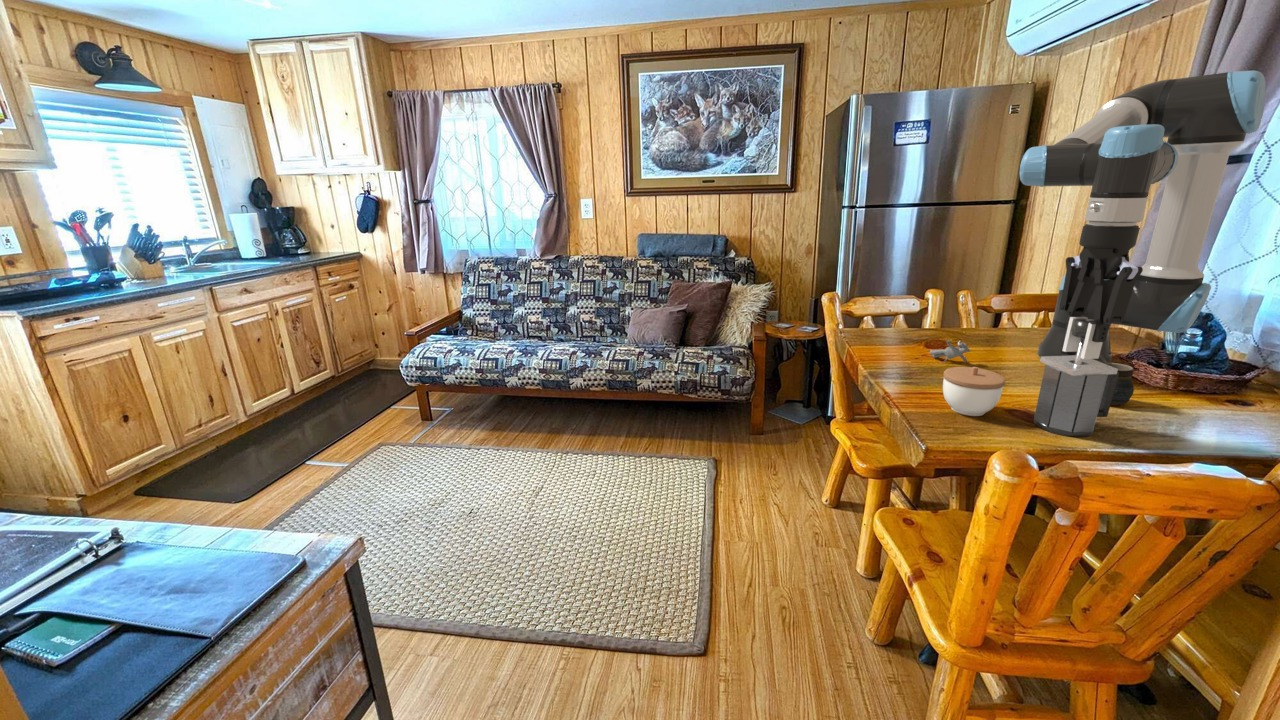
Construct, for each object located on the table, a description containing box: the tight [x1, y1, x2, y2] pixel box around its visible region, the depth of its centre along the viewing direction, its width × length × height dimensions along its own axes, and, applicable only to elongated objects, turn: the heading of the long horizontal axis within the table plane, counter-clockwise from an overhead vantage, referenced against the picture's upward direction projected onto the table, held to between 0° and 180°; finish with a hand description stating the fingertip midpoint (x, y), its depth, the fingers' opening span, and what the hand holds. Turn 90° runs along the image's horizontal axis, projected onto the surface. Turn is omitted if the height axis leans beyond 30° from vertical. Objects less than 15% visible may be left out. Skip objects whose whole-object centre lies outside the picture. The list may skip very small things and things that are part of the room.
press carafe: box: [1033, 355, 1119, 438], centre depth 102 cm, size 12×9×13 cm
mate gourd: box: [1099, 353, 1135, 407], centre depth 114 cm, size 7×8×10 cm
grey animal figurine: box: [929, 339, 971, 363], centre depth 141 cm, size 10×6×9 cm
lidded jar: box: [942, 366, 1006, 417], centre depth 111 cm, size 11×11×9 cm
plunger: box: [1072, 319, 1094, 365], centre depth 101 cm, size 6×6×18 cm
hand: (1080, 354), depth 100 cm, fingers closed on plunger, 4 cm apart
